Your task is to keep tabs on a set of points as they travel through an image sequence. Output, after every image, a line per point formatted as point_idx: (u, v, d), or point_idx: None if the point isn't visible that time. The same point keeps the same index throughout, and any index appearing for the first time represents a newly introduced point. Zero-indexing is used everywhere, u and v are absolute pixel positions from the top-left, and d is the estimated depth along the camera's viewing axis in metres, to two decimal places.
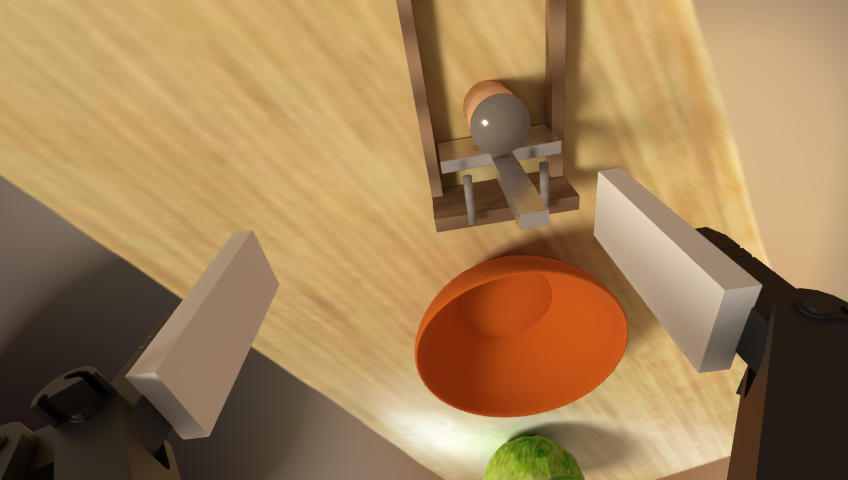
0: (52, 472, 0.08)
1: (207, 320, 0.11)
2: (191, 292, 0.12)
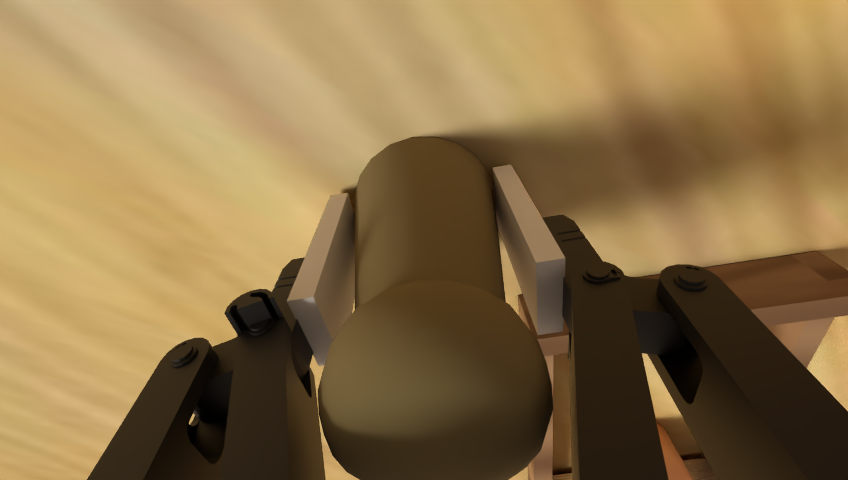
0: None
1: (333, 263, 0.12)
2: (313, 240, 0.13)
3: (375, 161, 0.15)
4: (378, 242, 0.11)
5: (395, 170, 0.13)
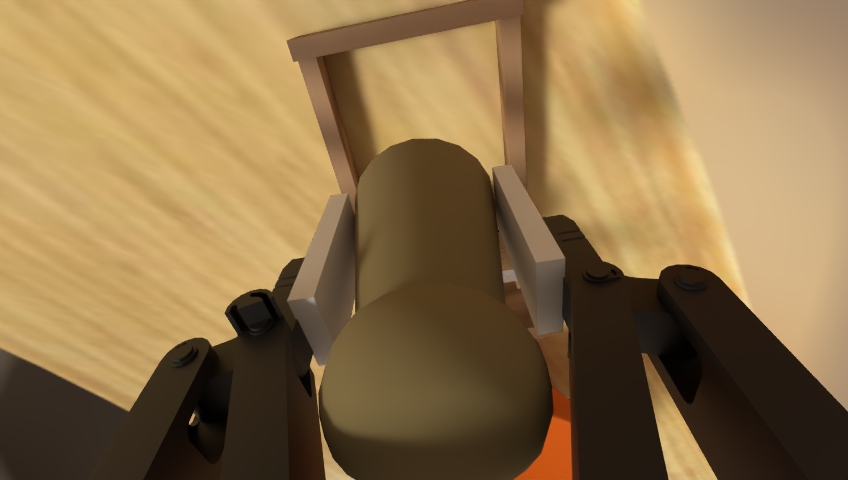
0: None
1: (333, 263, 0.12)
2: (313, 240, 0.13)
3: (375, 162, 0.15)
4: (378, 244, 0.11)
5: (395, 172, 0.13)
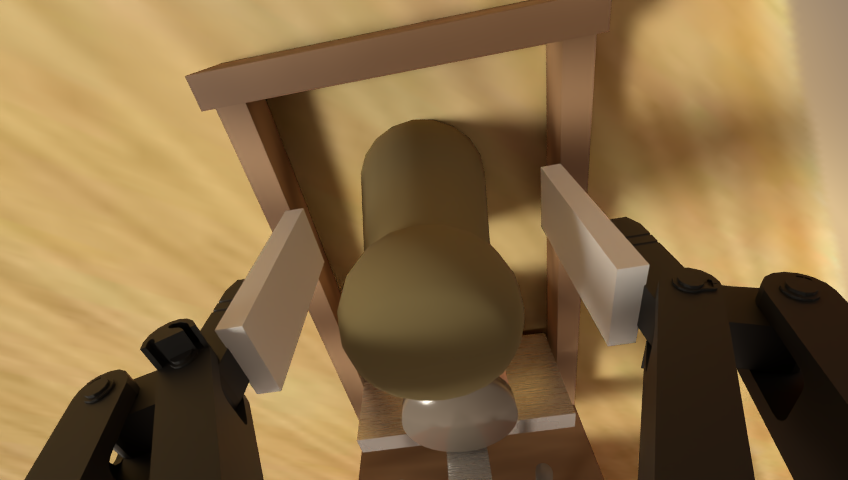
0: None
1: (275, 286, 0.12)
2: (257, 261, 0.13)
3: (380, 141, 0.17)
4: (383, 202, 0.13)
5: (397, 146, 0.16)
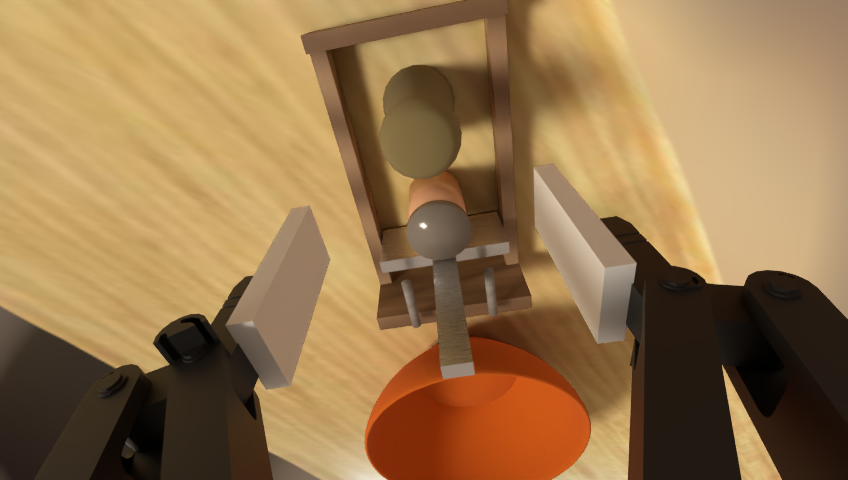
0: None
1: (283, 282, 0.12)
2: (265, 258, 0.13)
3: (394, 77, 0.31)
4: (398, 97, 0.26)
5: (404, 76, 0.29)
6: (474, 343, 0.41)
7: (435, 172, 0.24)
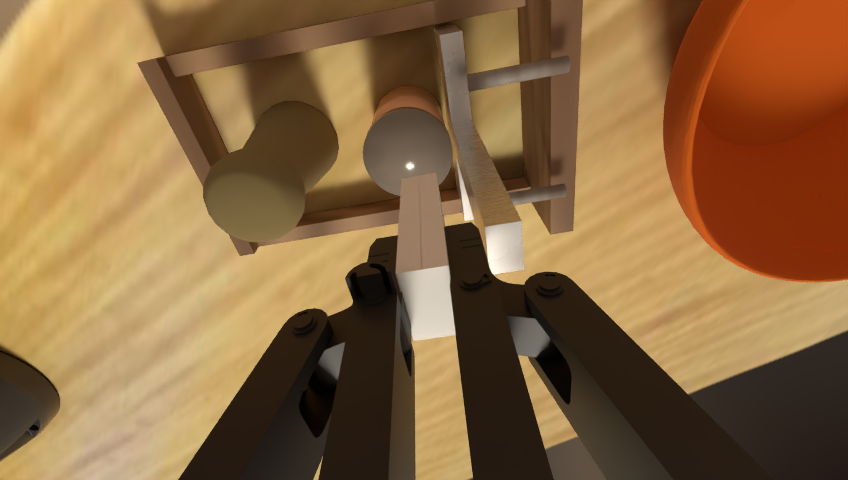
0: None
1: None
2: (399, 220, 0.13)
3: None
4: None
5: None
6: None
7: (277, 192, 0.19)
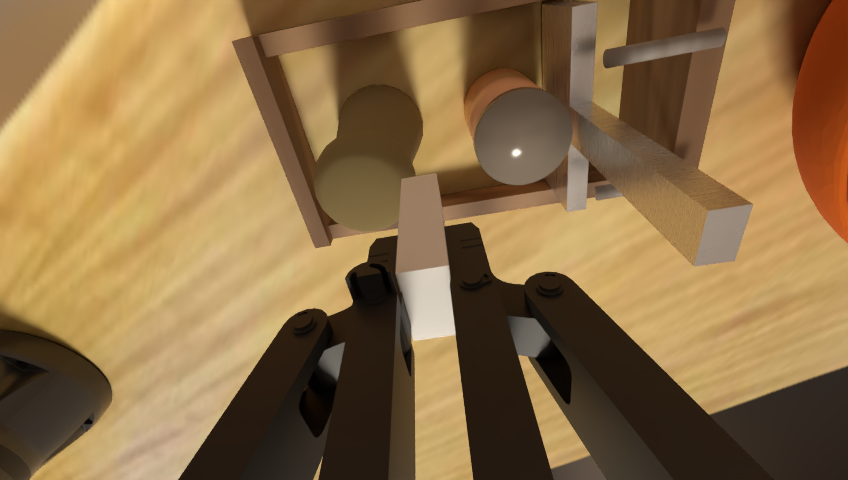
0: None
1: None
2: (399, 219, 0.13)
3: None
4: None
5: None
6: (814, 44, 0.20)
7: (397, 177, 0.18)
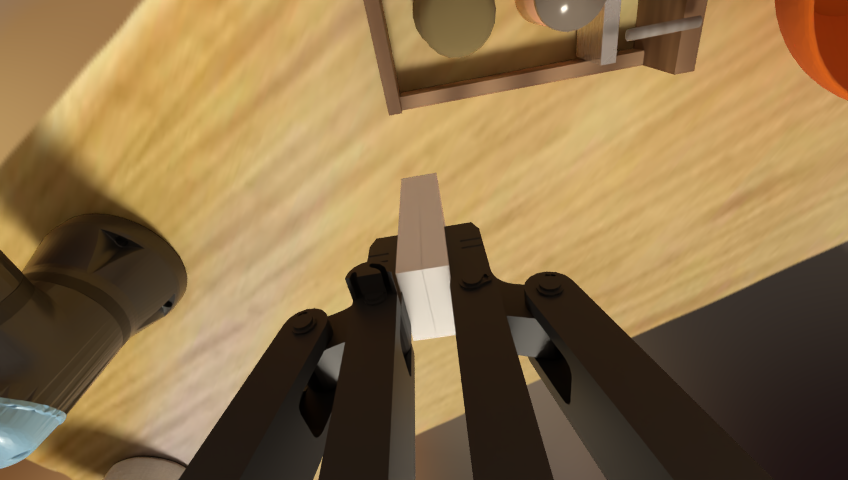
0: None
1: None
2: (399, 219, 0.13)
3: (421, 36, 0.34)
4: None
5: (419, 27, 0.33)
6: None
7: (487, 0, 0.24)
